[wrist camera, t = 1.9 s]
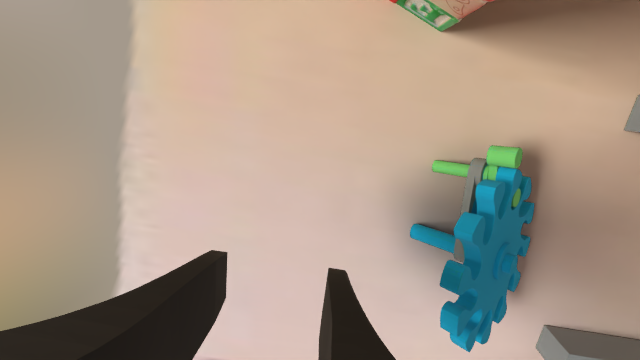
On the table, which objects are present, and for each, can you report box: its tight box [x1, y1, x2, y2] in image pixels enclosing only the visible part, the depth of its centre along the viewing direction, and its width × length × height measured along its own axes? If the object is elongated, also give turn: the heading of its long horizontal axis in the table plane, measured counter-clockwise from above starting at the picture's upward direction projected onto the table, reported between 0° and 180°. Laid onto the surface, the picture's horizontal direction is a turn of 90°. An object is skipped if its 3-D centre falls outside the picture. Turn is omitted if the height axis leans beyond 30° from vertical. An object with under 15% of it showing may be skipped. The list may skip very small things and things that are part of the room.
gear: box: [410, 145, 534, 352], centre depth 18 cm, size 11×6×10 cm
